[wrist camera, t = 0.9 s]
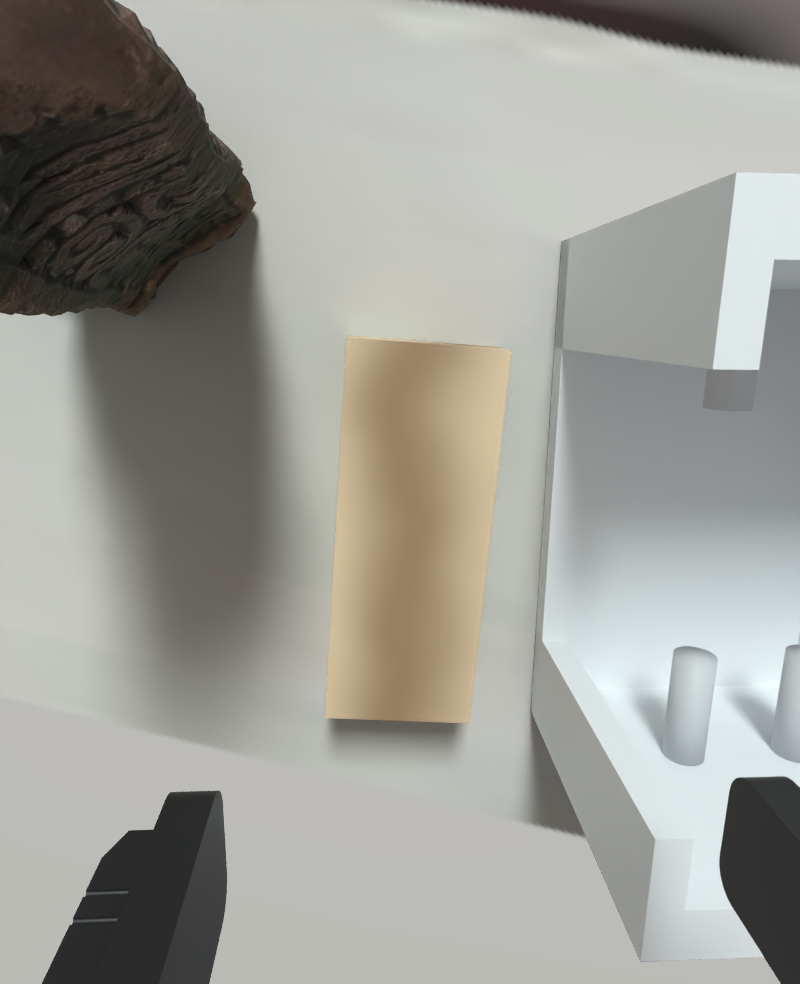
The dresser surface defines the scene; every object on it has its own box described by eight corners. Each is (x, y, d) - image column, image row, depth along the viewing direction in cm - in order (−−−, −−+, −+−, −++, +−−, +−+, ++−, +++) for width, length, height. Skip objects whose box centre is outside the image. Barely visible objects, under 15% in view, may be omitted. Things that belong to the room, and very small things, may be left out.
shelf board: (492, 346, 26) (512, 350, 23) (457, 677, 29) (469, 723, 26) (348, 335, 26) (346, 337, 22) (329, 671, 29) (324, 718, 26)
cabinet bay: (876, 247, 26) (1303, 187, 14) (797, 705, 30) (1069, 944, 19) (561, 241, 25) (736, 172, 13) (530, 710, 30) (640, 962, 18)
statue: (123, 65, 23) (-1203, -1365, 3) (297, 207, 24) (41, -248, 5) (15, 235, 24) (-1456, -129, 5) (187, 362, 25) (-379, 498, 6)
